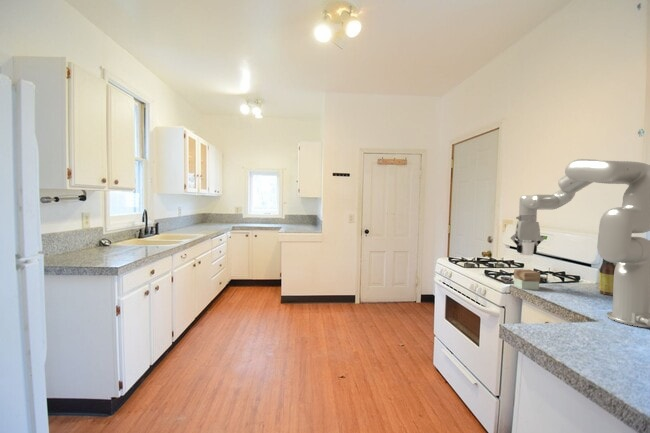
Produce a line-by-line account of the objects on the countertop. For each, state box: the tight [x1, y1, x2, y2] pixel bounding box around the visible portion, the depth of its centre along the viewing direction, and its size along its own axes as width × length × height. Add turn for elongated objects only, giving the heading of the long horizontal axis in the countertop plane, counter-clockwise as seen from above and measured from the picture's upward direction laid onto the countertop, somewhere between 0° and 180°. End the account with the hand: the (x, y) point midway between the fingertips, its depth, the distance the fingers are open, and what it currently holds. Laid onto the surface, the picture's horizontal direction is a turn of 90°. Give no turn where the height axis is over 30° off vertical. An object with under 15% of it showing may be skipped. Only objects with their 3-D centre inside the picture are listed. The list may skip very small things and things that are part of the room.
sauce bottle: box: [598, 258, 616, 297], centre depth 136 cm, size 7×6×20 cm
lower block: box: [513, 277, 540, 291], centre depth 147 cm, size 8×8×4 cm
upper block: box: [513, 268, 541, 283], centre depth 147 cm, size 8×8×4 cm
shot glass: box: [519, 240, 535, 256], centre depth 147 cm, size 7×7×7 cm
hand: (526, 252), depth 147 cm, fingers closed on shot glass, 6 cm apart
